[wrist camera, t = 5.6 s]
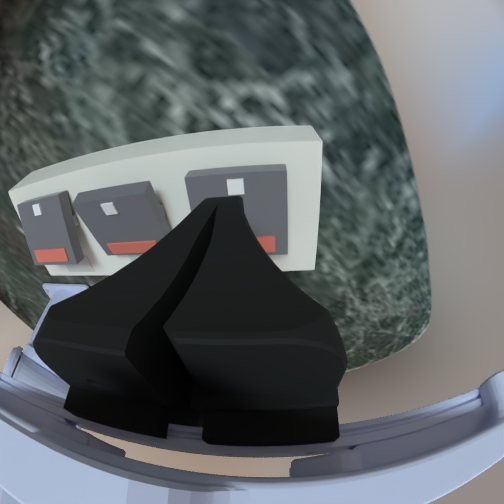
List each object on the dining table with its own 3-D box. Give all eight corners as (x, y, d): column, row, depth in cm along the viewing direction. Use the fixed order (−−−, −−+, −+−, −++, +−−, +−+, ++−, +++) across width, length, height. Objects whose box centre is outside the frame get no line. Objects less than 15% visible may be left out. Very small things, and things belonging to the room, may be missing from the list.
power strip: (308, 239, 22) (315, 274, 19) (67, 251, 23) (48, 278, 20) (311, 125, 16) (324, 144, 13) (32, 171, 18) (4, 195, 14)
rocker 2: (175, 239, 18) (172, 254, 17) (111, 243, 18) (107, 256, 17) (150, 179, 14) (143, 194, 13) (78, 192, 14) (70, 206, 13)
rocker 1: (84, 257, 17) (76, 265, 16) (42, 259, 18) (34, 266, 16) (67, 189, 15) (57, 194, 14) (25, 200, 15) (15, 205, 14)
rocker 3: (286, 243, 17) (287, 255, 16) (204, 247, 17) (200, 259, 16) (285, 163, 14) (287, 171, 13) (189, 170, 14) (183, 178, 13)
